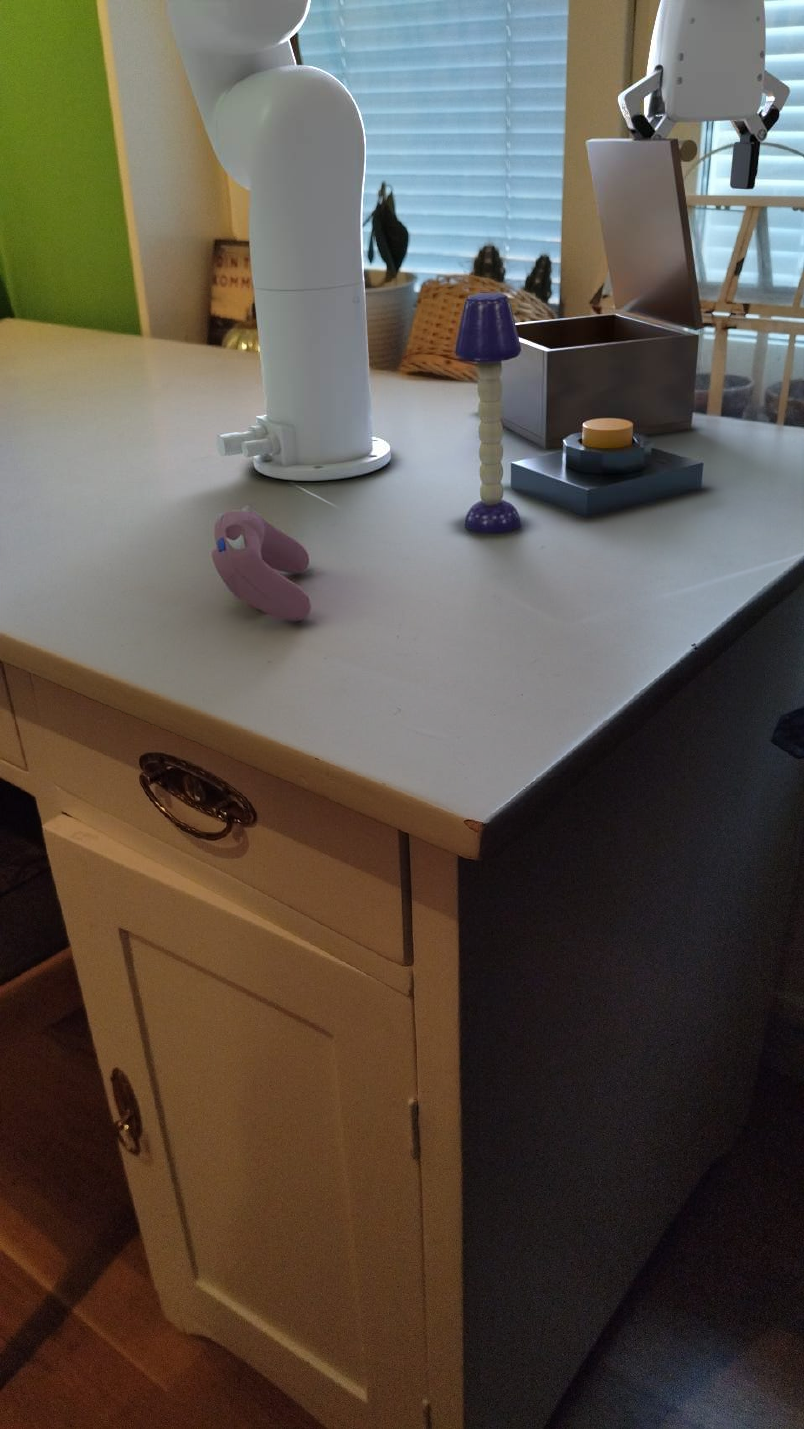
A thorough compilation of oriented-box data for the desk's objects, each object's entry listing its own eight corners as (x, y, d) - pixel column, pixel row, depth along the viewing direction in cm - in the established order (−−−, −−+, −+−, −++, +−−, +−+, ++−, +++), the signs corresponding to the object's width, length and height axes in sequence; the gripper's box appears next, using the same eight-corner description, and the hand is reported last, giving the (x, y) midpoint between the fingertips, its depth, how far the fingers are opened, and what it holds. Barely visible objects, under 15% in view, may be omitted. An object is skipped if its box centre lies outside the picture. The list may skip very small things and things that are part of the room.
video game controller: (259, 592, 78) (204, 510, 75) (315, 560, 77) (261, 476, 74) (255, 650, 69) (191, 560, 66) (317, 616, 69) (256, 523, 65)
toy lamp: (516, 537, 81) (517, 299, 74) (454, 536, 82) (449, 300, 74) (523, 517, 86) (525, 289, 78) (463, 515, 87) (460, 290, 79)
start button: (603, 455, 87) (604, 432, 86) (571, 444, 90) (572, 423, 89) (642, 446, 89) (643, 424, 88) (609, 436, 92) (610, 415, 91)
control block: (586, 518, 85) (588, 467, 83) (510, 488, 92) (510, 440, 90) (701, 489, 90) (706, 440, 88) (620, 463, 98) (623, 417, 96)
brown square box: (545, 448, 103) (547, 351, 99) (481, 414, 116) (480, 326, 112) (691, 429, 107) (699, 334, 103) (614, 397, 120) (618, 312, 116)
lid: (669, 141, 94) (724, 120, 95) (585, 141, 107) (634, 123, 108) (696, 331, 102) (746, 310, 103) (615, 309, 116) (660, 291, 116)
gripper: (773, -19, 102) (752, 185, 110) (606, -18, 97) (597, 195, 106) (825, -30, 96) (799, 188, 104) (649, -29, 91) (636, 199, 99)
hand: (697, 191), depth 105 cm, fingers open, 9 cm apart
